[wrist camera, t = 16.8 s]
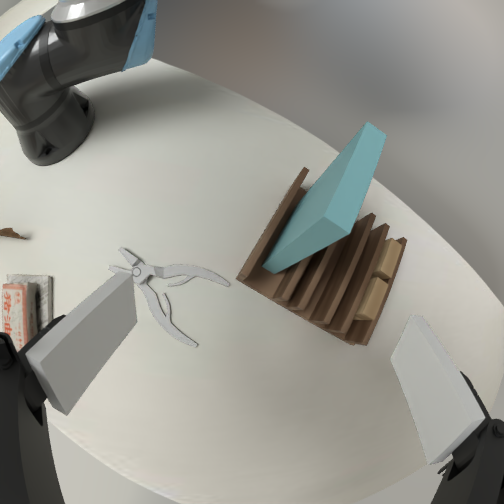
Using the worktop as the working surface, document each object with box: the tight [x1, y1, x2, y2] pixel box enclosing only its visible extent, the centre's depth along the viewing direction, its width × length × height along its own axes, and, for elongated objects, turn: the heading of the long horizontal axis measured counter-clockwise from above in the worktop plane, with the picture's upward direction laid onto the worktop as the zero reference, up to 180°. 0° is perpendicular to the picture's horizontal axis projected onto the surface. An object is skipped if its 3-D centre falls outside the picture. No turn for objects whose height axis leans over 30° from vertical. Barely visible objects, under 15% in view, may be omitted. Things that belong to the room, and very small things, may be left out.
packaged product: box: [2, 274, 52, 352], centre depth 27 cm, size 18×5×10 cm
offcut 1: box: [352, 277, 388, 320], centre depth 34 cm, size 2×5×6 cm, turn 150°
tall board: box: [262, 122, 387, 274], centre depth 27 cm, size 2×10×20 cm, turn 150°
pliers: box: [108, 247, 230, 347], centre depth 34 cm, size 10×2×15 cm
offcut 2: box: [370, 238, 402, 280], centre depth 35 cm, size 2×5×6 cm, turn 150°
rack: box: [236, 167, 407, 346], centre depth 35 cm, size 19×16×6 cm
